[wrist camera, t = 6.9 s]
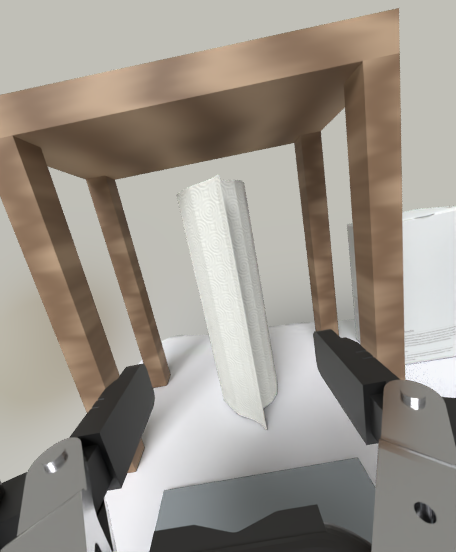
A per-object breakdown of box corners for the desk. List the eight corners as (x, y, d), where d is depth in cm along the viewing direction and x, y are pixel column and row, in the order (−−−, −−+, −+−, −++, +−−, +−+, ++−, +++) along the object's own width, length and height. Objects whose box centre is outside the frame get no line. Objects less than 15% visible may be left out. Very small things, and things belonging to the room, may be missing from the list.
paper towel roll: (235, 370, 28) (199, 196, 23) (283, 376, 25) (252, 181, 21) (207, 417, 22) (150, 192, 17) (267, 432, 19) (218, 170, 14)
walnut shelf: (332, 345, 29) (310, 118, 23) (405, 424, 17) (398, 8, 12) (156, 377, 30) (91, 163, 24) (112, 475, 18) (-38, 102, 12)
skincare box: (417, 329, 29) (417, 208, 26) (470, 359, 23) (479, 202, 19) (352, 339, 30) (344, 222, 26) (385, 371, 23) (379, 221, 20)
